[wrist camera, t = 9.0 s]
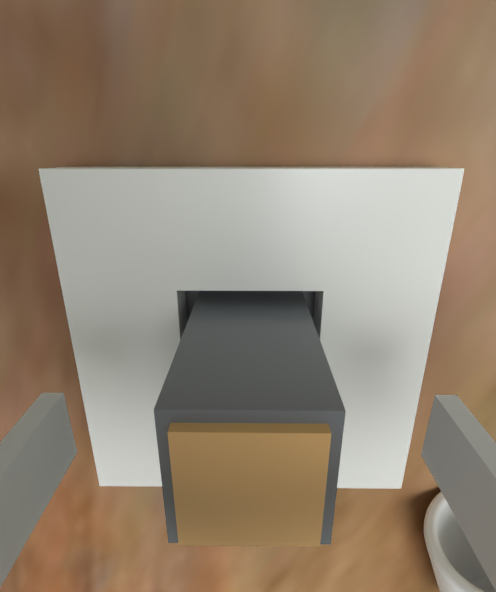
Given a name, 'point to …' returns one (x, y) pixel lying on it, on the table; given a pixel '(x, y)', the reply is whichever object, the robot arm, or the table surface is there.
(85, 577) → the table surface
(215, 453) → the plug
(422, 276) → the socket plate
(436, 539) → the mug
